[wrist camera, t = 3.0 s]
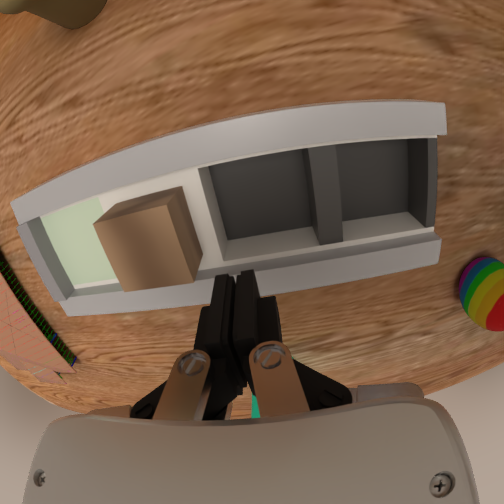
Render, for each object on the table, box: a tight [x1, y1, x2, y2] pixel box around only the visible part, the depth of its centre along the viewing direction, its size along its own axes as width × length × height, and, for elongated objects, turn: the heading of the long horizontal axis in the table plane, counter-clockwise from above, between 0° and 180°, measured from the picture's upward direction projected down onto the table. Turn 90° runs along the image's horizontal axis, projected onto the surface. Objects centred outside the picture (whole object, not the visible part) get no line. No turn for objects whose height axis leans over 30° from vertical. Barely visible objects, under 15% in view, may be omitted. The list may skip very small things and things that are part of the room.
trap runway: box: [10, 99, 447, 316], centre depth 22 cm, size 38×14×6 cm, turn 101°
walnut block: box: [93, 186, 203, 292], centre depth 20 cm, size 6×6×4 cm
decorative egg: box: [459, 257, 504, 331], centre depth 25 cm, size 8×8×10 cm
